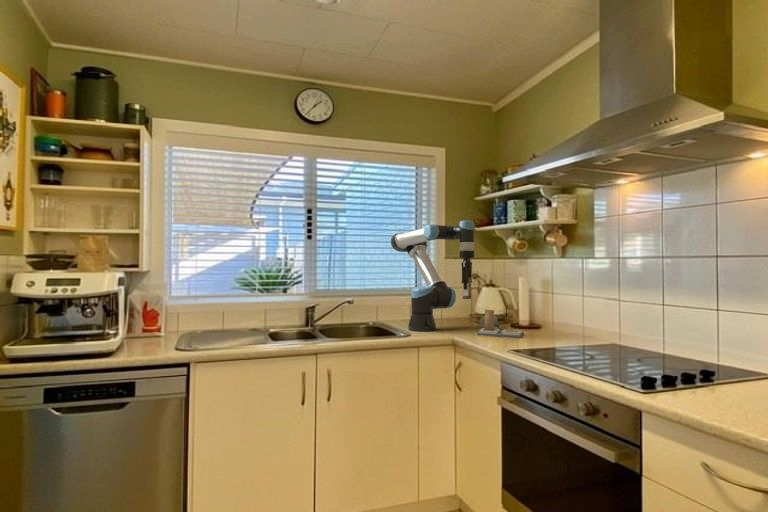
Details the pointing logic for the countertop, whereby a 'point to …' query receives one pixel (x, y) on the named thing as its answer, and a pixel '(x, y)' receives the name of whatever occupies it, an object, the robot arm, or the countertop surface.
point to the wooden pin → (469, 289)
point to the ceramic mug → (482, 323)
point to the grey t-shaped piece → (491, 331)
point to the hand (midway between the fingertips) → (466, 295)
